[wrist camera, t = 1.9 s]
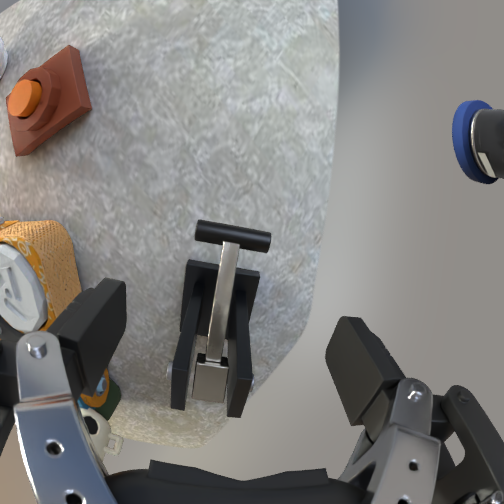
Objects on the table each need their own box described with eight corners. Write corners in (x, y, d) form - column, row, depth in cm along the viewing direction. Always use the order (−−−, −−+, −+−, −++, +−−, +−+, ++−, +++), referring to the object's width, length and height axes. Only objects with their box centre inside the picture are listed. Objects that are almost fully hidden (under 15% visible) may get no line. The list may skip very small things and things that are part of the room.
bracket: (188, 259, 26) (155, 342, 14) (259, 271, 27) (276, 360, 15) (181, 325, 29) (157, 418, 17) (243, 335, 30) (249, 431, 18)
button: (39, 75, 15) (29, 72, 13) (44, 103, 16) (33, 101, 15) (16, 95, 15) (6, 94, 14) (21, 123, 17) (10, 123, 15)
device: (-7, 384, 23) (-70, 191, 12) (15, 355, 30) (-31, 179, 20) (104, 427, 24) (27, 158, 14) (121, 382, 32) (79, 153, 22)
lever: (199, 222, 19) (197, 215, 17) (267, 235, 20) (274, 229, 18) (175, 382, 18) (171, 395, 16) (240, 392, 19) (244, 405, 16)
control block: (79, 49, 17) (59, 39, 14) (92, 108, 20) (71, 104, 16) (16, 99, 18) (-5, 96, 14) (27, 155, 21) (5, 158, 17)
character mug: (136, 379, 32) (111, 456, 19) (138, 408, 34) (120, 477, 22) (68, 357, 30) (30, 421, 18) (77, 388, 32) (48, 448, 20)
